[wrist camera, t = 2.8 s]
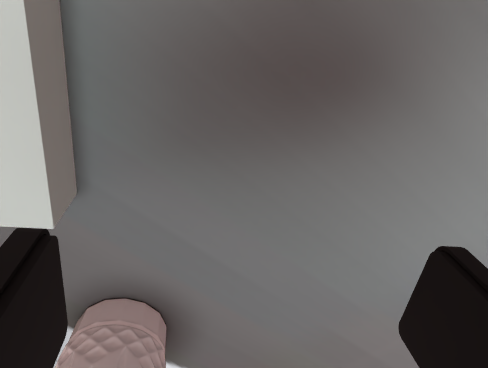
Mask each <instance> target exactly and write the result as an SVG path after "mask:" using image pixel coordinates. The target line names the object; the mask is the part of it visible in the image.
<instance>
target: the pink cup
mask: <svg viewBox="0 0 488 368" xmlns="http://www.w3.org/2000/svg"><path fill="white" fill-rule="evenodd" d="M166 329H167V327H166V324H165V323H164V321H163V319H162V317H161V315H160V313H159V312H157V311H156V310H154V309H153V308H151V307H150V306H149V305H147V304H146V303H143V302H139V301H134V300H130V299H126V298H124V299H111V300H104V301H102V302H100V303H97V304H95V305H93V306H91V307H89V308H87V309H86V311H85V312H84V313H83V315H82V316H81V317H80V319H79V320H78V322H77V324H76V326H75V328H74V330H73V333H72V335H71V337H70V340H69V342H68V343H67V344H66V346H65V348H64V350H63V352H62V354H61V355H60V357H59V360H58V362H57V365H56V366H55V368H166V362H165V343H166Z"/></svg>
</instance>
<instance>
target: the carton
mask: <svg viewBox="0 0 488 368" xmlns="http://www.w3.org/2000/svg"><path fill="white" fill-rule="evenodd" d="M76 194H77V186H76V175H75V164H74V153H73V142H72V132H71V121H70V110H69V99H68V88H67V77H66V66H65V55H64V44H63V33H62V23H61V12H60V1H59V0H0V226H5V227H25V228H45V229H54V228H55V226H56V225H57V223H58V222H59V220H60V219H61V217H62V216H63V214H64V213H65V211H66V210H67V208H68V207H69V205H70V204H71V202H72V200H73V199H74V197H75V196H76Z"/></svg>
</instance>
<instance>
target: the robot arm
mask: <svg viewBox="0 0 488 368" xmlns="http://www.w3.org/2000/svg"><path fill="white" fill-rule="evenodd" d="M67 325H68V321H67V312H66V304H65V295H64V287H63V279H62V270H61V262H60V253H59V245H58V239H57V237H56V236H50V234H49V231H48V230H47V229H39V228H17V229H15V230H14V231H13V233H12V234H11V235H10V236H9V237H8V239H7V240H6V241H5V242H4V243H3V245H2V246H1V247H0V368H53V366H54V364H55V361H56V359H57V356H58V354H59V352H60V349H61V346H62V344H63V341H64V339H65V336H66V332H67ZM399 334H400V336H401V338H402V340H403V342H404V343H405V345H406V347H407V348H408V350H409V351H410V353H411V355H412V356H413V358H414V360H415V361H416V363H417V365H418V366H419V368H488V268H486V267H485V266H484V265H483V264H482V263H481V262H480V261H479V260H478V259H477V258H475V257H474V256H473V255H472V254H471V253H470V252H469V251H468V250H466V249H465V248H462V247H449V246H441V247H438V248H437V249H436V250H435V251H434V252H432V253H431V254H430V256H429V258H428V260H427V262H426V264H425V267H424V269H423V271H422V273H421V275H420V278H419V280H418V282H417V284H416V287H415V289H414V291H413V293H412V295H411V298H410V300H409V302H408V304H407V307H406V309H405V311H404V313H403V316H402V318H401V320H400V322H399Z"/></svg>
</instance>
